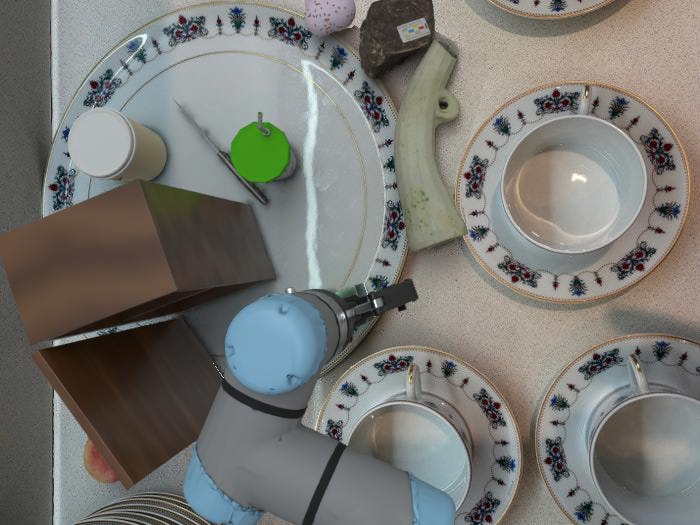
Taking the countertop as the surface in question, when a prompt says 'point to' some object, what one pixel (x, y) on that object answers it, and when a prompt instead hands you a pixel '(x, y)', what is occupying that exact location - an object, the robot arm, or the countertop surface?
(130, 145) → the coffee cup
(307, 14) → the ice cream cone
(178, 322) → the cupboard door
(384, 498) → the robot arm
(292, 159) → the cup
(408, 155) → the pale green curved piece
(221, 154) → the knife
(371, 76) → the rock
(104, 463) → the fruit
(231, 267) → the cupboard
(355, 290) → the green rectangular block
